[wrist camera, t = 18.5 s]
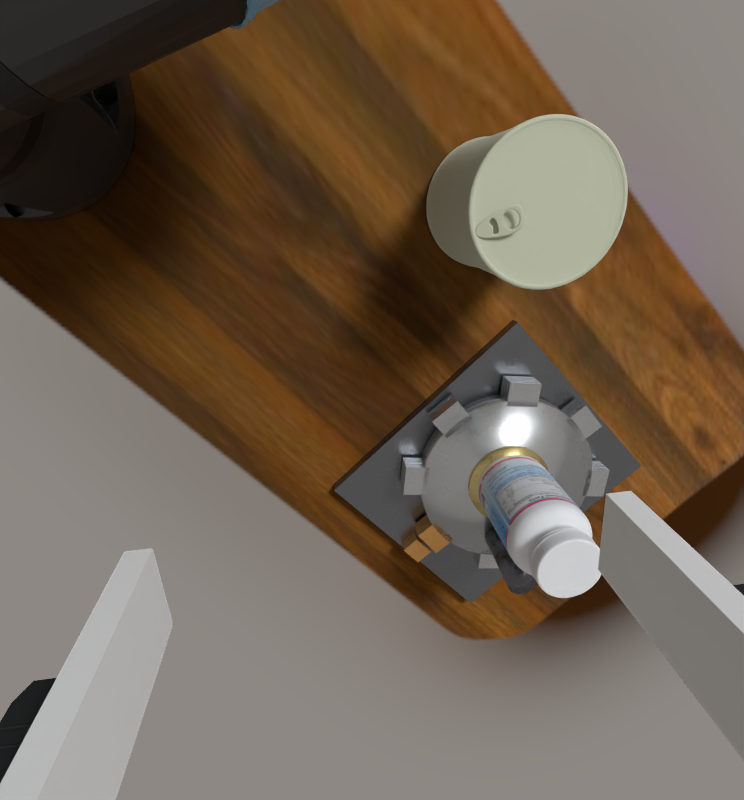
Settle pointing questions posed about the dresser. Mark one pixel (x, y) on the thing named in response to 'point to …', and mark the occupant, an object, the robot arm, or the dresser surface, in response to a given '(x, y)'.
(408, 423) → the base plate
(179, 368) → the dresser surface
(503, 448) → the sprocket
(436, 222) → the pale green cylinder
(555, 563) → the pill bottle
